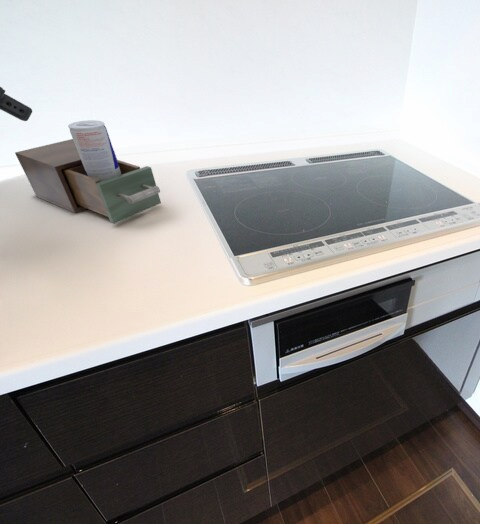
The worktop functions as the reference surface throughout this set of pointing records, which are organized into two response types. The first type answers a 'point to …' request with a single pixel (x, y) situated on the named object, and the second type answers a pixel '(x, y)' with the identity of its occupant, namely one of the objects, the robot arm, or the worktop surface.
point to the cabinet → (52, 172)
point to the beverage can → (95, 149)
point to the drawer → (115, 191)
